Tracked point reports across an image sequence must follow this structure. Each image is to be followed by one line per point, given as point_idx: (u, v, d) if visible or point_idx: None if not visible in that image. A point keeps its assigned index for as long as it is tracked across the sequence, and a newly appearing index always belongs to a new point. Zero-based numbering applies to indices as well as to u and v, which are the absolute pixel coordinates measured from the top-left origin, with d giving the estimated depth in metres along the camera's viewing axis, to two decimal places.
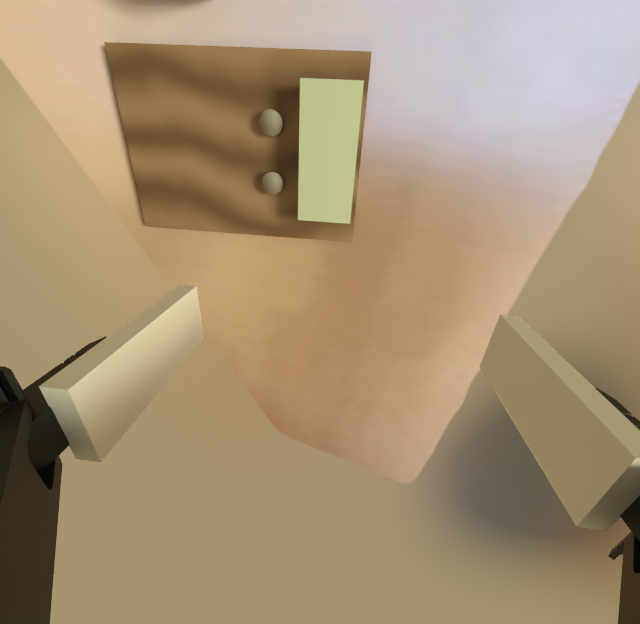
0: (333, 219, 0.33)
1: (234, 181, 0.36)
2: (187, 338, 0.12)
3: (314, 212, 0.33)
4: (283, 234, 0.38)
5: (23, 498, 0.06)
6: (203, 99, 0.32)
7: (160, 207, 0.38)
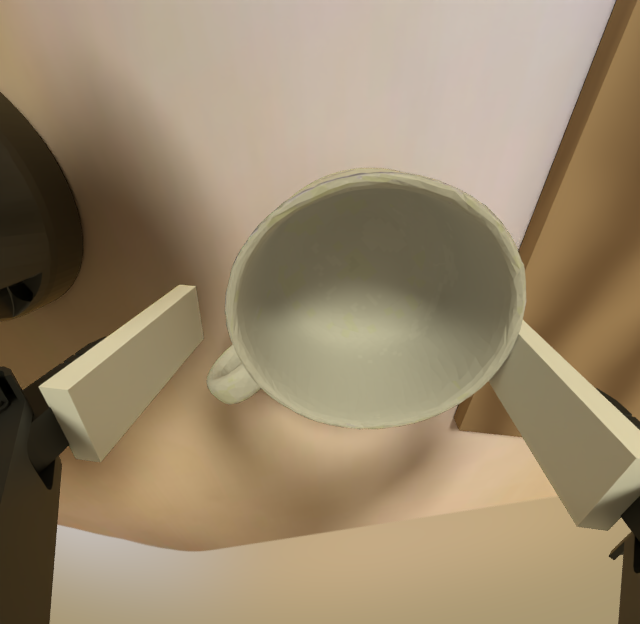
0: None
1: None
2: (187, 338, 0.12)
3: None
4: None
5: (23, 498, 0.06)
6: (591, 316, 0.16)
7: None
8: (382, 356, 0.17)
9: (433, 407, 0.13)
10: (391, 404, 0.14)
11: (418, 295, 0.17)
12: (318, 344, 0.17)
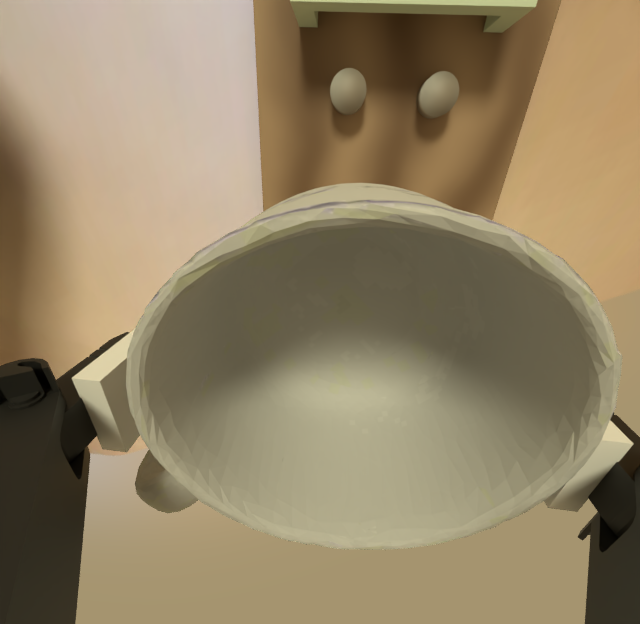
0: None
1: (421, 177, 0.23)
2: None
3: None
4: (530, 83, 0.20)
5: (56, 487, 0.06)
6: None
7: None
8: (381, 424, 0.13)
9: (453, 526, 0.09)
10: (392, 509, 0.10)
11: (428, 344, 0.13)
12: (298, 406, 0.13)
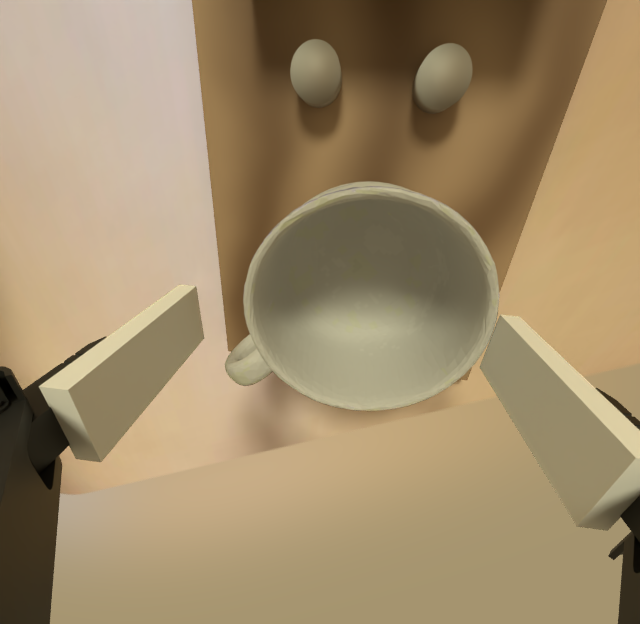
0: None
1: (419, 192, 0.17)
2: (187, 338, 0.12)
3: None
4: (576, 64, 0.14)
5: (23, 498, 0.06)
6: None
7: None
8: (382, 349, 0.18)
9: (424, 391, 0.14)
10: (387, 390, 0.16)
11: (415, 294, 0.18)
12: (324, 338, 0.19)
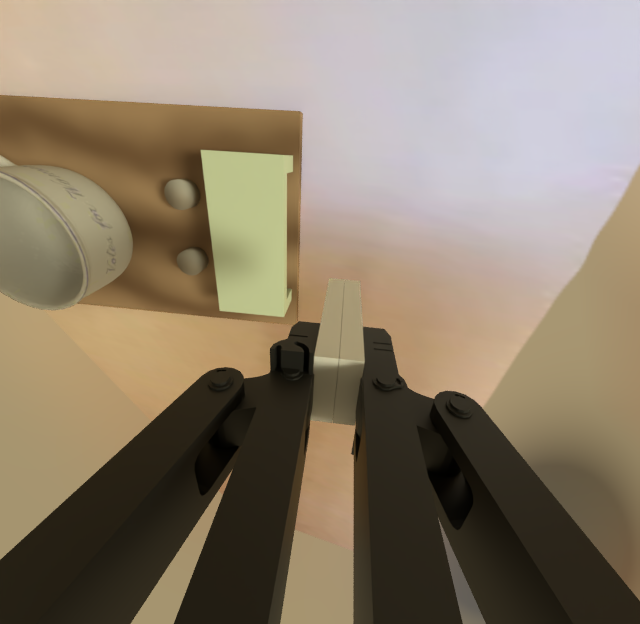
0: (263, 311, 0.27)
1: (148, 256, 0.29)
2: None
3: (239, 303, 0.26)
4: (213, 314, 0.32)
5: (299, 463, 0.07)
6: (96, 162, 0.26)
7: None
8: (29, 247, 0.27)
9: None
10: None
11: None
12: (17, 204, 0.25)
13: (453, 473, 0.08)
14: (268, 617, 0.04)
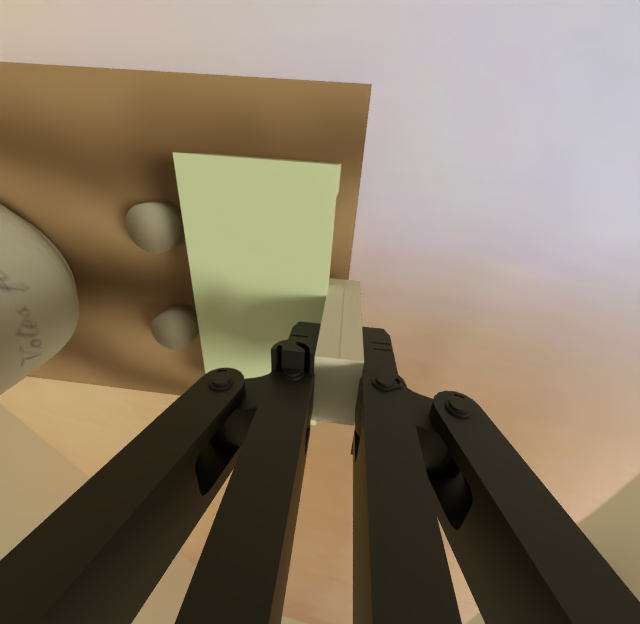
0: None
1: (108, 315, 0.19)
2: None
3: None
4: None
5: (300, 463, 0.07)
6: (14, 172, 0.15)
7: None
8: None
9: None
10: None
11: None
12: None
13: (452, 473, 0.08)
14: (269, 617, 0.04)
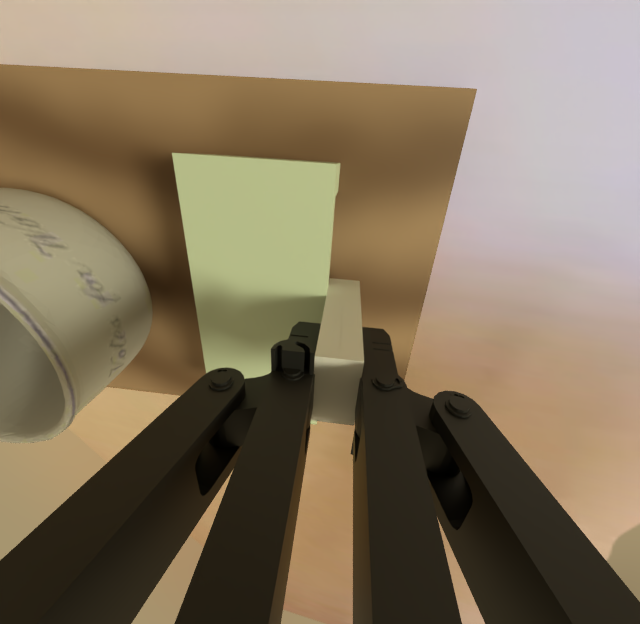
0: None
1: (173, 322, 0.19)
2: None
3: None
4: None
5: (300, 463, 0.07)
6: (93, 179, 0.15)
7: None
8: None
9: None
10: None
11: None
12: None
13: (452, 473, 0.08)
14: (269, 617, 0.04)
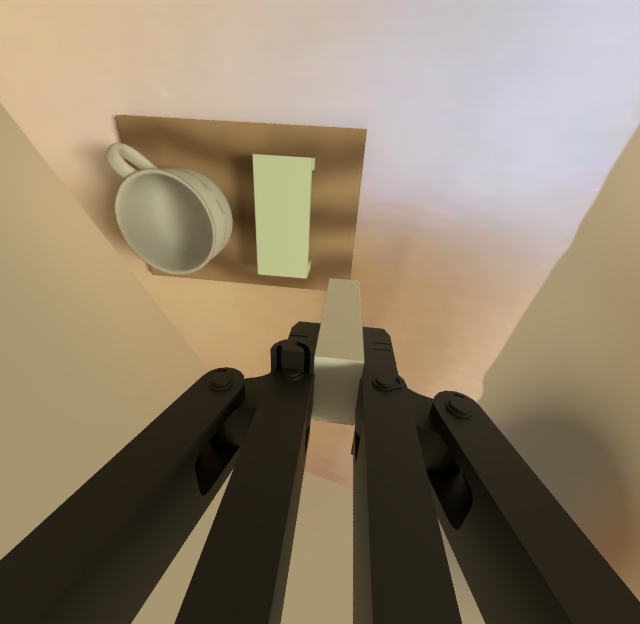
0: (290, 274, 0.35)
1: (237, 237, 0.38)
2: None
3: (273, 268, 0.35)
4: (283, 284, 0.40)
5: (300, 463, 0.07)
6: (208, 165, 0.34)
7: None
8: (154, 229, 0.35)
9: (140, 253, 0.32)
10: (134, 237, 0.32)
11: (190, 242, 0.37)
12: (150, 196, 0.34)
13: (453, 473, 0.08)
14: (269, 617, 0.04)
